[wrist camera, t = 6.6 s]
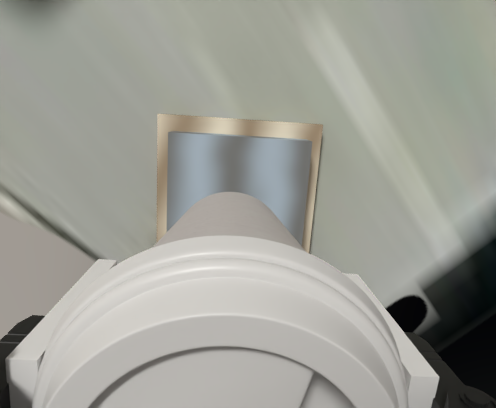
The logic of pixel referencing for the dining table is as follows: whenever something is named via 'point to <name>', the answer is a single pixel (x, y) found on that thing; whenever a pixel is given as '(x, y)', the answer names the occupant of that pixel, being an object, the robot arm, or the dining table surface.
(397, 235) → the dining table surface
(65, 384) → the coffee cup
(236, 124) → the pedestal
